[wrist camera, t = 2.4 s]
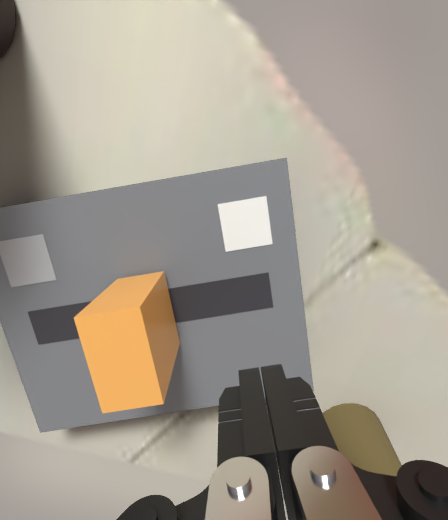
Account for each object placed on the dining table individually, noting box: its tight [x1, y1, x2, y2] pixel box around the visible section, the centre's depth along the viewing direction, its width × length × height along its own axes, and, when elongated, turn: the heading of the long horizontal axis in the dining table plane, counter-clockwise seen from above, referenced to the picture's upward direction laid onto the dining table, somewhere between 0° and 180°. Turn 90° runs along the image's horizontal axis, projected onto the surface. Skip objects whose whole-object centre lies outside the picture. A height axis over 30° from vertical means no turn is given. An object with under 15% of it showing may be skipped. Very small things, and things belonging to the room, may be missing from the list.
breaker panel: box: [0, 158, 314, 433], centre depth 22 cm, size 20×16×3 cm
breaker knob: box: [74, 271, 180, 413], centre depth 17 cm, size 3×5×6 cm, turn 10°
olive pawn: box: [323, 404, 402, 476], centre depth 21 cm, size 6×6×11 cm
